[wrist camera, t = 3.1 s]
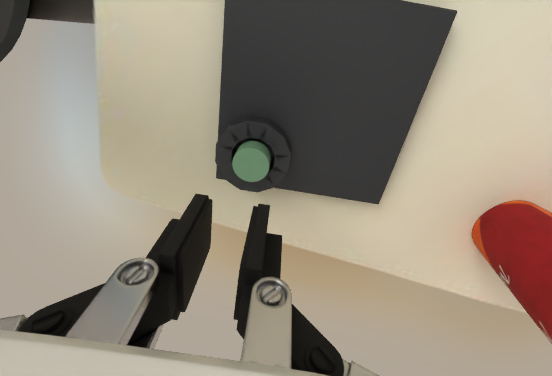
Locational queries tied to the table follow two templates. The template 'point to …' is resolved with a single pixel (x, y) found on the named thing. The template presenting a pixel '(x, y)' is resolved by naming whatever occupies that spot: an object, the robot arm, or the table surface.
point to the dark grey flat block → (325, 89)
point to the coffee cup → (521, 254)
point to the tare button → (251, 161)
